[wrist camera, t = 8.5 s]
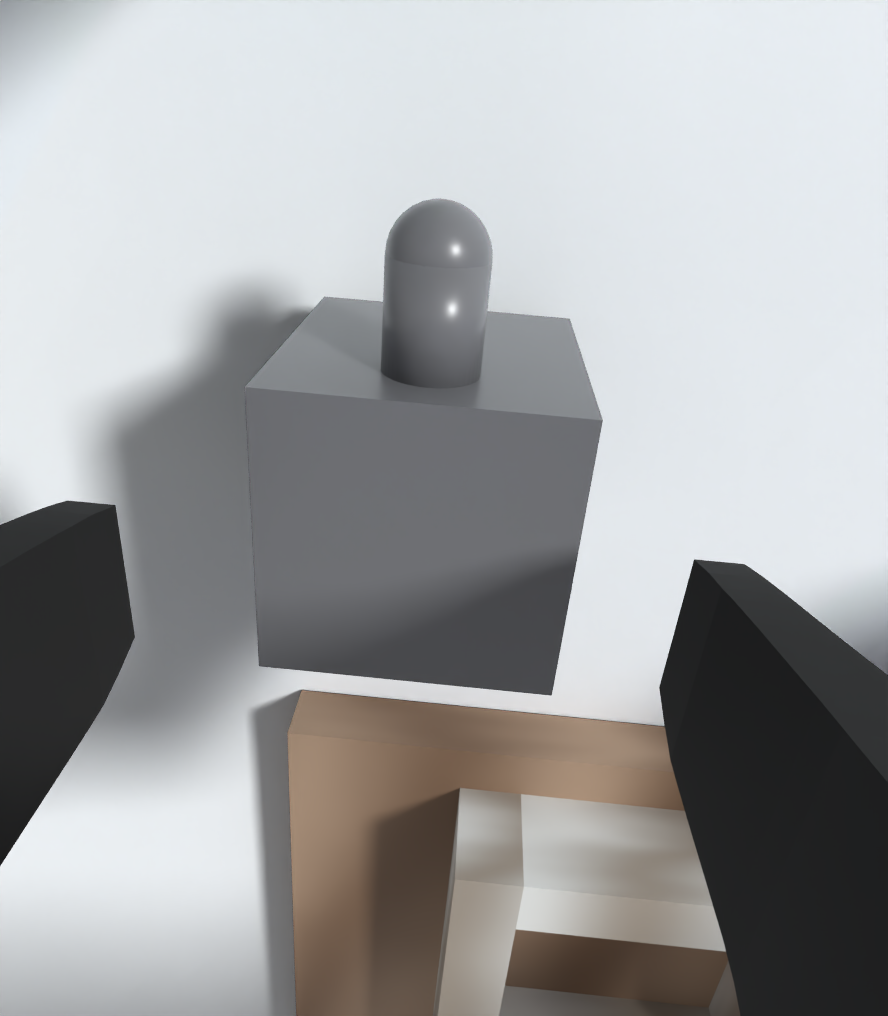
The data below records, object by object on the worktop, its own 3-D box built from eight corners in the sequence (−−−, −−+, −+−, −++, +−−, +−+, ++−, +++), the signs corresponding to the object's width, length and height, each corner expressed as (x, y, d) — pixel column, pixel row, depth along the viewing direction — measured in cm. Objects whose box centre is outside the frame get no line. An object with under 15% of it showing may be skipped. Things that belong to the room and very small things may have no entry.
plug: (585, 180, 14) (637, 230, 8) (535, 513, 17) (551, 695, 12) (333, 159, 14) (234, 194, 9) (331, 494, 17) (259, 666, 12)
